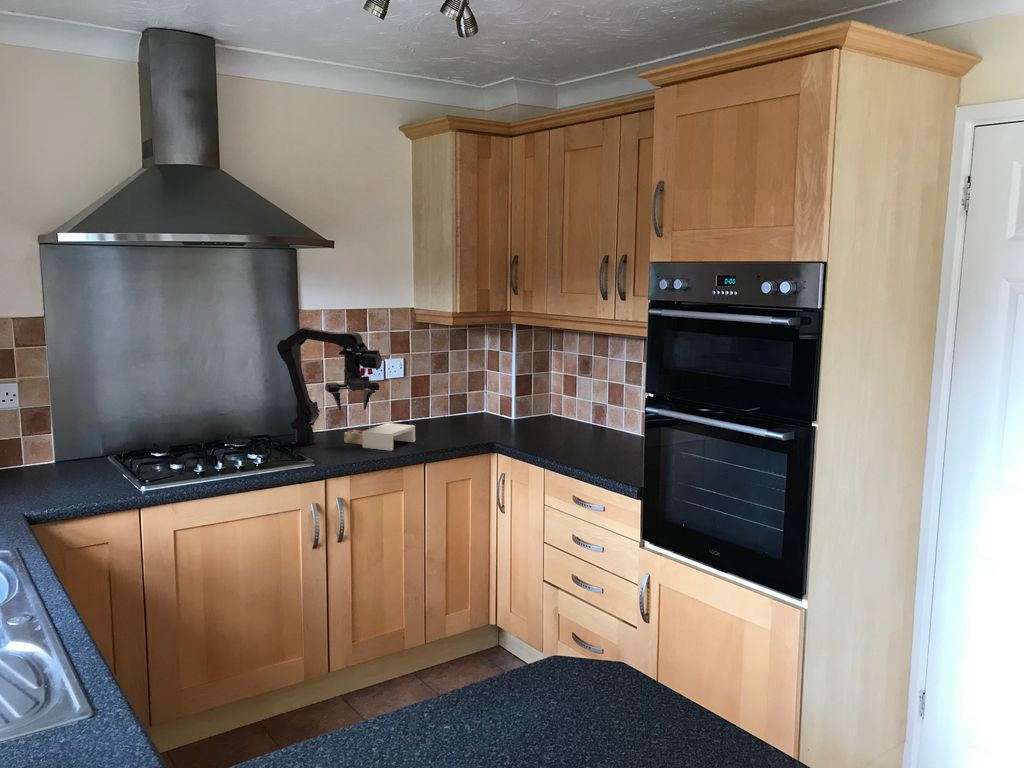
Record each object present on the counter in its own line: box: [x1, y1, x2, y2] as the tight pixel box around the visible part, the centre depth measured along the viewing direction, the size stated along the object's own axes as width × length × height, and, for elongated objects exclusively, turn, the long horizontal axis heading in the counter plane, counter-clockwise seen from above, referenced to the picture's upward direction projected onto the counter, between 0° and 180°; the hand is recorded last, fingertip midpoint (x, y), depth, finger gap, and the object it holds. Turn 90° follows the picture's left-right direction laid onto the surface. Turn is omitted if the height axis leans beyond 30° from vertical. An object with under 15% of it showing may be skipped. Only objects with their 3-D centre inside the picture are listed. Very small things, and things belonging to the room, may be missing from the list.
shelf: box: [361, 422, 416, 452], centre depth 307 cm, size 12×17×6 cm
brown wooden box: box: [343, 429, 363, 446], centre depth 311 cm, size 10×6×4 cm, turn 65°
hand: (352, 409), depth 303 cm, fingers open, 9 cm apart
